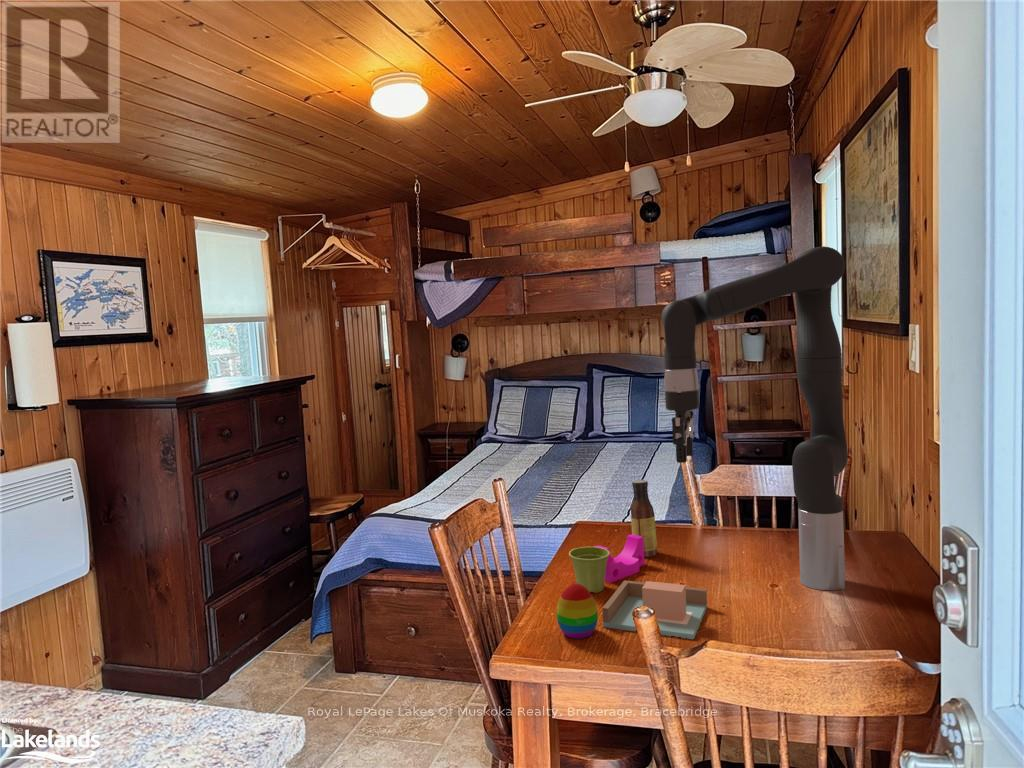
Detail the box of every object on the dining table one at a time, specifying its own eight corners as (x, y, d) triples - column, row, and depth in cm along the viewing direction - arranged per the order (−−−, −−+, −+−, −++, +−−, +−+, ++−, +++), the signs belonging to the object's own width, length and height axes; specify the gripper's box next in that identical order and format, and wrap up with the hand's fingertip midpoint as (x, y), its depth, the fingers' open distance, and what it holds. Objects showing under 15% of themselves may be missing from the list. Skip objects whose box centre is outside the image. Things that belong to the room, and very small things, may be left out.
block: (647, 608, 143) (646, 581, 142) (686, 613, 139) (685, 585, 139) (643, 616, 139) (642, 587, 139) (682, 621, 136) (681, 592, 135)
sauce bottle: (660, 552, 181) (657, 479, 180) (652, 559, 176) (649, 484, 175) (637, 549, 185) (634, 477, 183) (628, 556, 180) (625, 482, 178)
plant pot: (587, 578, 165) (586, 543, 165) (619, 587, 159) (617, 551, 158) (562, 590, 159) (560, 554, 158) (594, 599, 152) (592, 562, 151)
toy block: (610, 584, 161) (608, 553, 161) (591, 577, 166) (590, 547, 166) (652, 568, 170) (650, 539, 170) (633, 562, 175) (632, 534, 175)
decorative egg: (591, 644, 130) (589, 593, 130) (551, 639, 134) (549, 589, 133) (603, 626, 138) (601, 578, 137) (565, 622, 141) (563, 575, 140)
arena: (707, 607, 144) (706, 589, 144) (693, 639, 130) (692, 619, 130) (624, 597, 152) (624, 580, 152) (603, 627, 138) (602, 607, 137)
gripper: (670, 386, 163) (674, 453, 164) (658, 391, 150) (662, 464, 151) (703, 385, 160) (706, 453, 161) (693, 390, 147) (697, 465, 148)
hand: (685, 458), depth 156 cm, fingers open, 8 cm apart
